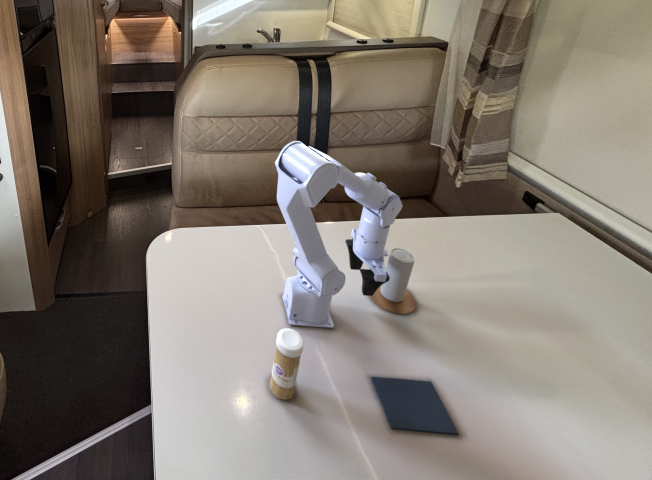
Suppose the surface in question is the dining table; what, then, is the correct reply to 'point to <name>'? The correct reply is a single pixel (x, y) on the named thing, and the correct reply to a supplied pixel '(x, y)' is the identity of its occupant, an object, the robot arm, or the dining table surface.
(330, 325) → the robot arm
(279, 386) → the sprinkles bottle
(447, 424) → the slate pad
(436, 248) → the dining table surface
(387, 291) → the beverage can
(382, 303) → the cork coaster
